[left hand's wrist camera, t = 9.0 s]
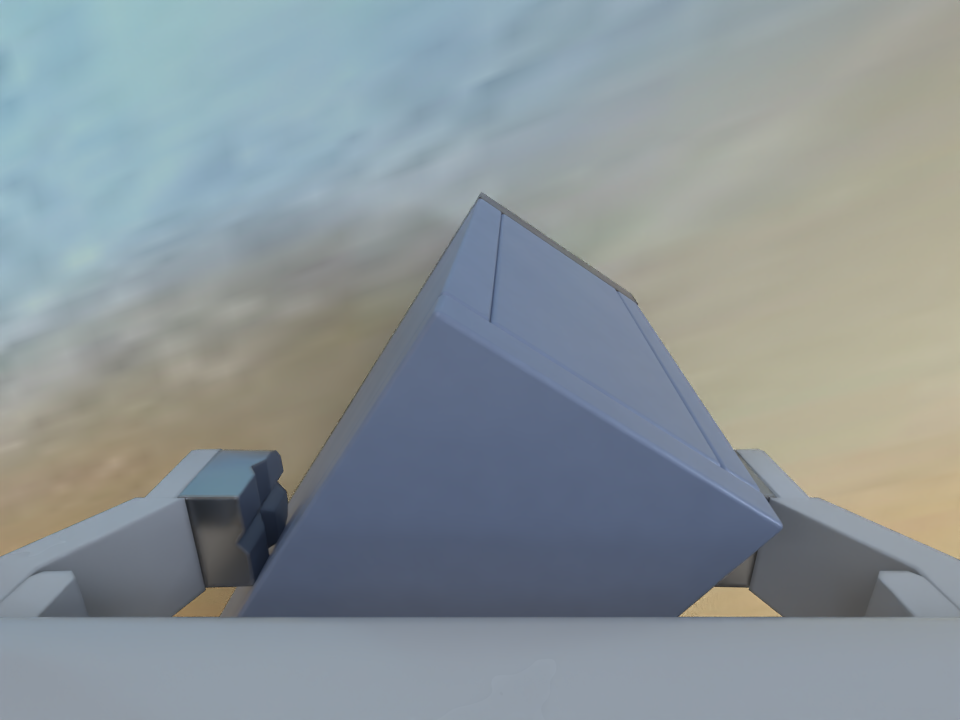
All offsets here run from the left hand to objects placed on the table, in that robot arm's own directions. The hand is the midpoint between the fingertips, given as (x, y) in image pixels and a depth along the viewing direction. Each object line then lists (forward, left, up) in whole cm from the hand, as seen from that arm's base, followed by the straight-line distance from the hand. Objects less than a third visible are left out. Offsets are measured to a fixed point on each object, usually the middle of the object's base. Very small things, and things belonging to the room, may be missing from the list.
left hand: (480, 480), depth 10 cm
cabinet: (+5, +1, -8) cm, 9 cm away
